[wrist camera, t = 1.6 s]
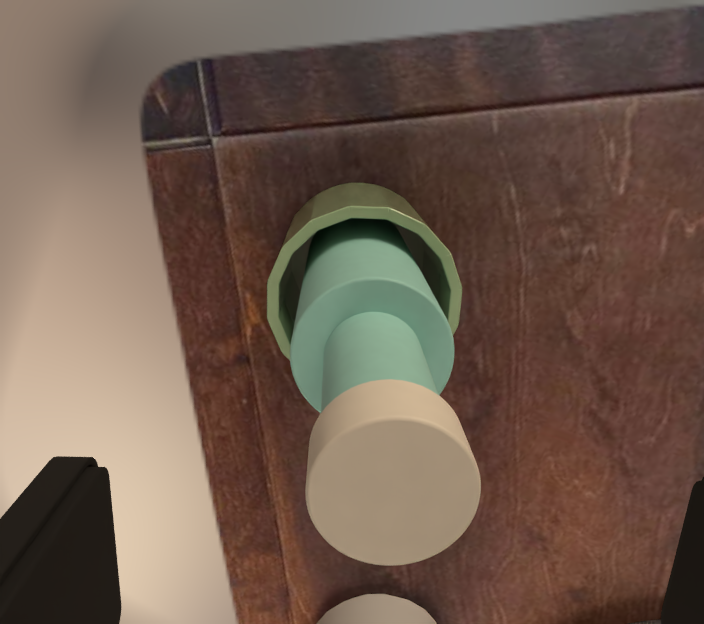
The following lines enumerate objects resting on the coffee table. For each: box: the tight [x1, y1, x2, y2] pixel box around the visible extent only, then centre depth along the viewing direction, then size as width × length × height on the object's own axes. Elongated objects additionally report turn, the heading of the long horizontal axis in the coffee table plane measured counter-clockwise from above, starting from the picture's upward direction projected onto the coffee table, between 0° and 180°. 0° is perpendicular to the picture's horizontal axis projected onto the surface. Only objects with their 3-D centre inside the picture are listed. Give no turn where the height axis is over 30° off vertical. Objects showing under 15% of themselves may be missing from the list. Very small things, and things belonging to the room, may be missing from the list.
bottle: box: [290, 218, 481, 566], centre depth 18 cm, size 4×4×17 cm
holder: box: [267, 183, 462, 360], centre depth 23 cm, size 7×7×7 cm
